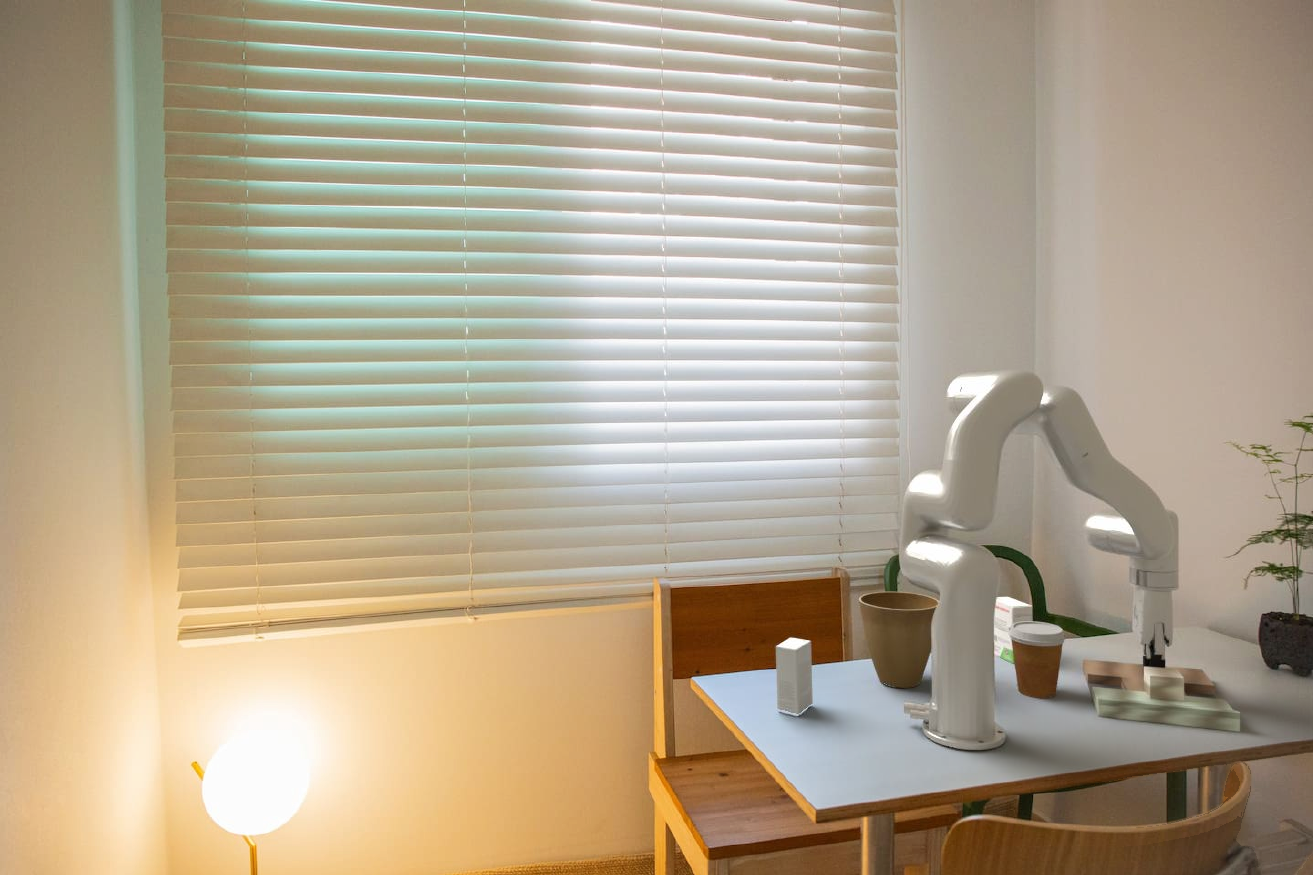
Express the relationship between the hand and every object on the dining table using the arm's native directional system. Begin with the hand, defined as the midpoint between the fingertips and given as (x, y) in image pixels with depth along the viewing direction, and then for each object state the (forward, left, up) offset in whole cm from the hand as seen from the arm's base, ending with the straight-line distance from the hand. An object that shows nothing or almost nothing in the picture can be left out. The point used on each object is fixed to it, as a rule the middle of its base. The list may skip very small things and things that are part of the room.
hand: (1154, 679), depth 145 cm
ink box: (-23, +16, -3) cm, 28 cm away
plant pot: (-43, -6, -3) cm, 44 cm away
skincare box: (-59, -26, -3) cm, 65 cm away
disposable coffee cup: (-19, -4, -3) cm, 20 cm away
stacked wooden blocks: (0, 0, -3) cm, 3 cm away
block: (+1, -5, -1) cm, 5 cm away
